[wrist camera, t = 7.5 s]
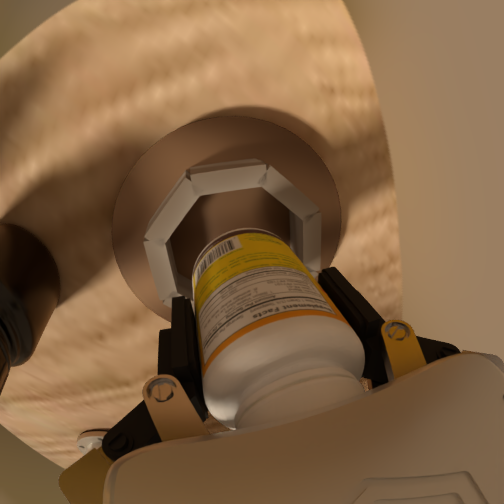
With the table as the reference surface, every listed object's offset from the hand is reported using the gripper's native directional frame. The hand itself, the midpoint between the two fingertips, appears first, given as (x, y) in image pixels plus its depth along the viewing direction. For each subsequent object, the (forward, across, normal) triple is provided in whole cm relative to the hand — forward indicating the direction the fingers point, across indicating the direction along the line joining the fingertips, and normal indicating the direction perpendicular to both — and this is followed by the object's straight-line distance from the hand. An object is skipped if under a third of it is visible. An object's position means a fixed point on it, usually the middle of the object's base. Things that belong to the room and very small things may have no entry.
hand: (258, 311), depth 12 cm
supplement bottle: (+4, 0, 0) cm, 4 cm away
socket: (+9, 0, 0) cm, 9 cm away
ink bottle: (+9, +18, 0) cm, 20 cm away
